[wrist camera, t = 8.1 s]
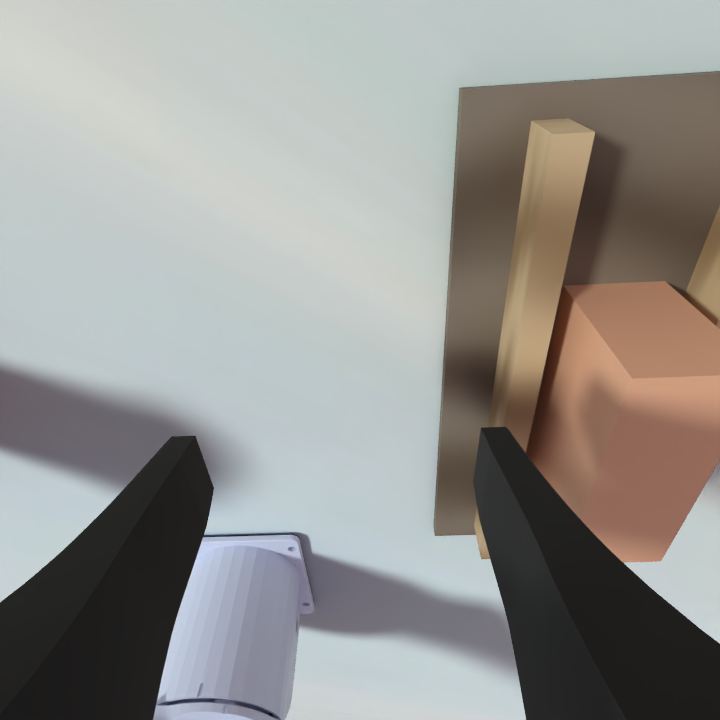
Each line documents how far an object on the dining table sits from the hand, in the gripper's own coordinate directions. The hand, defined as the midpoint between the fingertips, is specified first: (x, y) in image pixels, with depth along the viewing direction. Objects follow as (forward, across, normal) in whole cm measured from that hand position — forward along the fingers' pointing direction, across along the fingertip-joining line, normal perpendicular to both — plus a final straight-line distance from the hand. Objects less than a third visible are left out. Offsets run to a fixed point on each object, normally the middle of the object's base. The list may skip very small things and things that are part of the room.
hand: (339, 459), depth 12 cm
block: (+9, -11, +5) cm, 15 cm away
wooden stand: (+9, -11, +5) cm, 15 cm away
